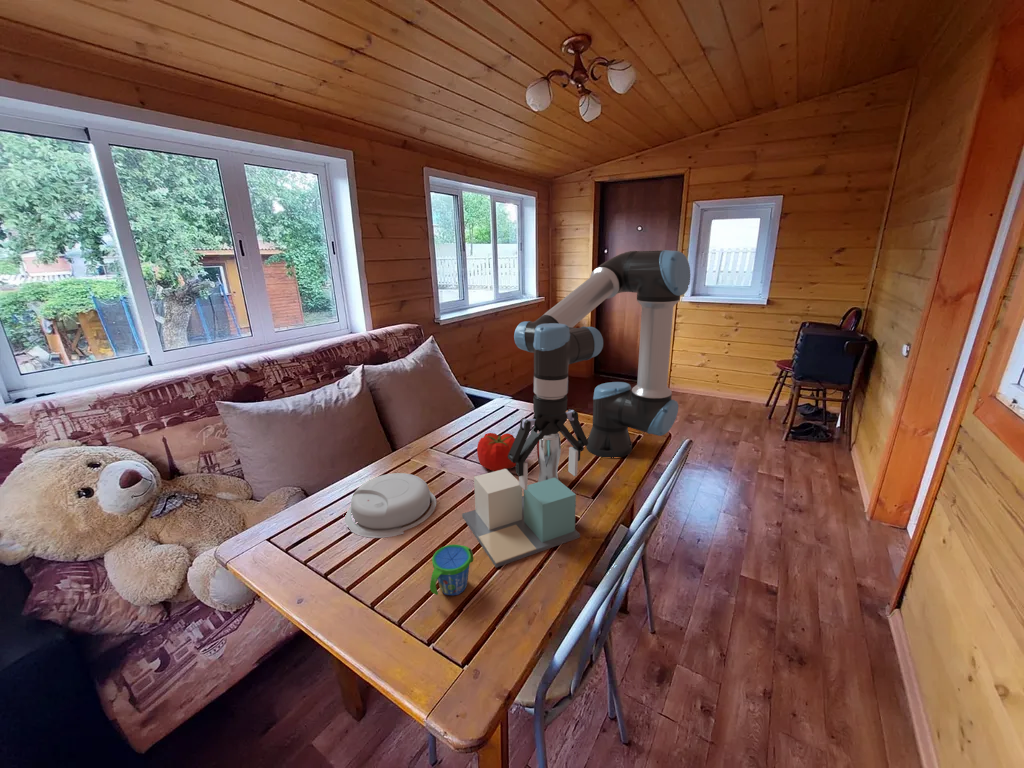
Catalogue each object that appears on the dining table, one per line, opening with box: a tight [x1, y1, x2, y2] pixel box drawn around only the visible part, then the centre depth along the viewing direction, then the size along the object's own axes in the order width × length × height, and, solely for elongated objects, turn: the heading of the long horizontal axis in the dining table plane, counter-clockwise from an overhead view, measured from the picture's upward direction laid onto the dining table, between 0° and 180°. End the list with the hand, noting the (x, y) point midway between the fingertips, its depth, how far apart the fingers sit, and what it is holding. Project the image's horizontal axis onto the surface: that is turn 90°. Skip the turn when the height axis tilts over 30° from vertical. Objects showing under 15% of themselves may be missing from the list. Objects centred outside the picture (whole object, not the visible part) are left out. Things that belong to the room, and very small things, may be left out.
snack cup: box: [429, 544, 474, 596], centre depth 86 cm, size 11×8×7 cm
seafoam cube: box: [523, 478, 577, 542], centre depth 103 cm, size 9×9×10 cm
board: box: [461, 495, 581, 569], centre depth 106 cm, size 22×21×1 cm
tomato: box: [476, 432, 516, 472], centre depth 134 cm, size 14×13×10 cm
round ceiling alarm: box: [344, 472, 437, 539], centre depth 114 cm, size 25×25×6 cm
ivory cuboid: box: [473, 469, 523, 530], centre depth 108 cm, size 9×9×10 cm
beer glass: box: [536, 431, 562, 482], centre depth 125 cm, size 7×7×15 cm
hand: (548, 480), depth 100 cm, fingers open, 13 cm apart
